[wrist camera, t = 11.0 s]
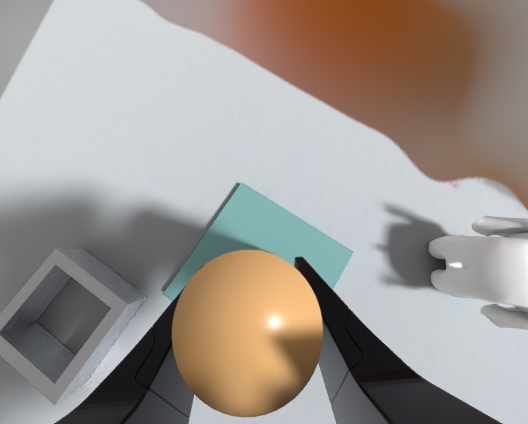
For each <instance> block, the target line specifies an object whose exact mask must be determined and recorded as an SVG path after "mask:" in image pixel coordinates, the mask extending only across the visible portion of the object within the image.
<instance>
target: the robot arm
mask: <svg viewBox="0 0 528 424" xmlns="http://www.w3.org/2000/svg"><path fill="white" fill-rule="evenodd" d="M203 266H204V265H202V266H201V267H200V268H199V269H201V268H202V267H203ZM294 267H295V268H296V269H297V270H298V271H299V272H300V273H301V274H302V275H303V277H304V278H305V279H306V280H307V282H308V283H309V285H310V286H311V288H312V290H313V292H314V294H315V296H316V298H317V301H318V304H319V307H320V311H321V316H322V324H323V342H322V349H321V353H320V357H319V361H318V363H319V366H320V369H321V373H322V376H323V380H324V383H325V386H326V390H327V393H328V396H329V400H330V403H331V404H332V405H331V407H332V410H333V413H334V417H335V420H336V423H337V424H502V423H500V422H498V421H497V420H495V419H493V418H491V417H490V416H488V415H486V414H484V413H483V412H481V411H479V410H477V409H476V408H474V407H472V406H470V405H469V404H467V403H465V402H463V401H462V400H460V399H458V398H456V397H454V396H453V395H451V394H449V393H447V392H446V391H444V390H442V389H440V388H439V387H437V386H435V385H433V384H432V383H430V382H428V381H427V380H425V379H424V378H422V377H421V376H420V375H418V374H417V373H416V372H414V371H413V370H412V369H411V368H410V367H409V366H407V365H406V364H405V363H404V362H403V361H402V360H401V359H400V358H399V357H398V356H397V355H396V354H395V353H394V352H392V351H391V350H390V349H389V348H388V347H387V346H386V345H385V344H384V343H383V342H382V341H381V340H380V339H379V338H377V337H376V336H375V335H374V334H373V333H372V332H371V331H370V330H369V329H368V328H367V327H366V326H365V325H364V324H363V323H362V322H361V321H360V320H359V318H358V317H357V316H356V315H355V314H354V313H353V312H352V311H351V310H350V309H349V308H348V306H347V305H346V304H345V303H344V302H343V301H342V300H341V299H340V297H339V296H338V295H337V294H336V293H335V292H334V291H333V290H332V289H331V287H330V286H329V285H328V284H327V283H326V282H325V281H324V280H323V279H322V277H321V276H320V275H319V274H318V273H317V272H316V271H315V270H314V269H313V267H312V266H311V265H310V264H309V263H308V262H307V261H306V260H305V259H304V257H302V256H299V257H295V262H294ZM195 274H196V273H195ZM186 285H187V284H186ZM184 288H185V287H184ZM184 288H183V289H182V290H181V292H180V293H179V294H178V295H177V297H176V298H175V299H174V300H173V301H172V303H171V304H170V305H169V306H168V308H167V309H166V310H165V311H164V312H163V314H162V315H161V316H160V317H159V318H158V320H157V321H156V322H155V323H154V325H153V327H151V328H150V329H149V331H148V332H147V333H146V334H145V335H144V337H143V338H142V339H141V340H140V341H139V342H138V344H137V345H136V346H135V347H134V348H133V349H132V350H131V352H130V353H129V354H128V355H127V356H126V357H125V358H124V359H123V360H122V361H121V362H120V364H119V365H118V366H117V367H116V368H115V369H114V370H113V371H112V372H111V373H110V374H109V375H108V376H107V377H106V378H105V379H104V380H103V382H102V383H101V384H100V385H99V386H98V387H97V388H96V389H95V390H94V391H93V392H92V393H91V394H90V395H89V396H88V397H87V398H86V399H85V400H84V401H83V402H82V403H81V404H80V405H79V406H78V407H76V408H75V409H74V410H73V411H72V412H70V413H69V414H68V415H66V416H65V417H63V418H62V419H61V420H59V421H58V422H56V423H54V424H188V423H189V417H190V413H191V408H192V403H193V398H194V393H193V392H192V391H191V389H190V388H189V387H188V385H187V384H186V382H185V381H184V379H183V377H182V375H181V373H180V371H179V369H178V366H177V363H176V360H175V357H174V352H173V346H172V323H173V317H174V313H175V309H176V306H177V303H178V300H179V298H180V296H181V293H182V292H183V290H184Z"/></svg>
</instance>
